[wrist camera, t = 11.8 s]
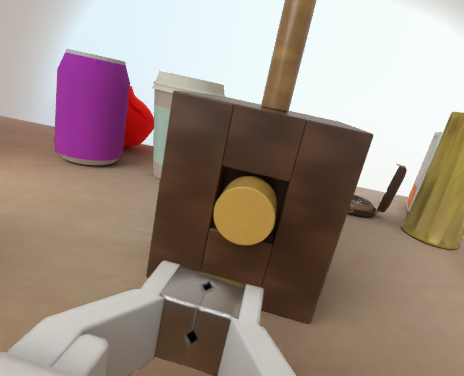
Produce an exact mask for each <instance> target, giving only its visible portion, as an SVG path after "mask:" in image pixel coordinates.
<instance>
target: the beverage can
mask: <svg viewBox="0 0 464 376" xmlns="http://www.w3.org/2000/svg"><path fill="white" fill-rule="evenodd" d="M129 88H130V82H129V77H128V73H127V70H126V65H125V62H123V61H119V60H114V59H111V58H106V57H102V56H98V55H93V54H88V53H84V52H79V51H74V50H70V49H66V52H65V54H64V56H63V59H62V61H61V63H60V65H59V67H58V70H57V93H56V116H55V117H56V118H55V140H54V143H55V151H56V152H57V153H58V154H59V155H60V156H61V157H62V158H63V159H65V160H68V161H70V162H74V163H78V164H85V165H108V164H112V163H114V162H116V161H117V160H118V159H120V158H121V156H122V152H123V144H124V135H125V126H126V116H127V107H128V97H129Z"/></svg>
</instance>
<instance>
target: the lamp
mask: <svg viewBox="0 0 464 376" xmlns="http://www.w3.org/2000/svg"><path fill="white" fill-rule="evenodd" d="M315 4H316V0H285V3H284V7H283V12H282V16H281V21H280V25H279V29H278V34H277V38H276V43H275V47H274V51H273V56H272V60H271V65H270V69H269V73H268V78H267V83H266V87H265V92H264V96H263V100H262V104H261V105H260V104H255V103H250V102H245V101H241V100H237V99H232V98H227V97H223V96H218V95H211V94H202V93H194V92H185V91H176V90H174V91H173V96H172V103H171V109H170V116H169V123H168V130H167V137H166V144H165V151H164V158H163V165H162V172H161V178H160V185H159V192H158V199H157V206H156V213H155V220H154V227H153V234H152V240H151V247H150V254H149V261H148V268H147V275H146V277H148V278H149V277H150V276H151V275H152V273H153V272H154V271H155V270H156V268H157V267H158V266H159V265H160V263H161V262H162V261H169V262H172V263H176V264H180V266H181V265H182V266H186V267H189V268H192V269H195V270H199V271H202V272H205V273H208V274H212V275H213V276H217V277H221V278H225V279H229V280H232V281H236V282H240V283H244V284H248V285H252V286H257V287H261V288H263V289H264V293H263V301H262V309H261V310H263V311H266V312H270V313H273V314H277V315H280V316H284V317H287V318H291V319H294V320H298V321H301V322H305V323H308V324H310V323H311V320H312V317H313V314H314V311H315V308H316V305H317V302H318V299H319V296H320V293H321V290H322V287H323V284H324V281H325V278H326V275H327V272H328V269H329V266H330V263H331V260H332V257H333V255H334V252H335V249H336V246H337V243H338V240H339V237H340V234H341V231H342V228H343V225H344V222H345V219H346V216H347V213H348V210H349V207H350V204H351V201H352V198H353V195H354V192H355V189H356V186H357V183H358V180H359V177H360V174H361V171H362V168H363V165H364V162H365V159H366V156H367V153H368V150H369V147H370V144H371V141H372V138H373V134H371V133H368V132H366V131H363V130H360V129H358V128H355V127H352V126H349V125H347V124H344V123H341V122H337V121H333V120H328V119H324V118H319V117H314V116H310V115H305V114H301V113H296V112H291V111H289V107H290V103H291V99H292V95H293V91H294V87H295V83H296V79H297V75H298V71H299V67H300V63H301V59H302V55H303V51H304V47H305V43H306V39H307V35H308V32H309V28H310V23H311V19H312V16H313V12H314V7H315ZM243 176H254V177H258V178H260V179H263V180H264V181H266V182H267V183H268V184H269V185H270V186H271V187H272V189H273V190H274V192H275V195H276V199H277V207H276V217H275V224H274V227H273V229H272V231H271V233H270V234H269V235H268V236H267V237H266V238H265V239H264V240H262V241H261V242H259V243H256V244H253V245H239V244H235V243H233V242H231V241H229V240H227V239H226V238H225V237H223V236H222V234H221V233H220V232H219V231H218V229H217V227H216V225H215V222H214V207H215V204H216V202H217V200H218V199H219V197H220V196H221V194H222V193H223V192H224V190H225V189H226V188H227V186H228V185H229V184H230V183H231V182H232V181H234V180H235V179H237V178H239V177H243ZM245 286H246V285H245Z"/></svg>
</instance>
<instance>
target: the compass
mask: <svg viewBox="0 0 464 376" xmlns="http://www.w3.org/2000/svg"><path fill="white" fill-rule="evenodd" d="M399 166H400V165H399ZM405 174H406V168H405V166H400V167H399V168H398V170H397V172H396V174H395V176H394V177H393V179H392V181H391V183H390V185H389V187H388V189H387V192H386V194H385V195H384V197H383V199H382V201H381V203H380V205H379V207H378V209H377V210H376V209H375V208H374V207H373V205H372V203H371V202H370V201H368V200H366V199H364V198H362V197H359V196H356V195H353V198H352V201H351V204H350V207H349V210H348V213H349V214H353V215H357V216H362V217H371V216H373V215H375V214H376V212H382V213H383V212H385V211H386V209H387V208H388V207H389V205H390V204H391V202H392V200H393V198H394V196H395V194H396V192H397V190H398V188H399V186H400V185H401V183H402V181H403V179H404V177H405Z"/></svg>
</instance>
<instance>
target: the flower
mask: <svg viewBox="0 0 464 376" xmlns="http://www.w3.org/2000/svg"><path fill="white" fill-rule="evenodd" d="M153 129H154V117H153V115H152V114H151V112H150V110H149V109H148V108H147V106H146V105H145V104H144V103H143V102H141V101H140V100H139V99H138V98H136V97H135V95H134V93H133V89H132V86H130V88H129V97H128V107H127V116H126V126H125V135H124V144H123V147H131V146H136V145H139V144H141V143H142V142H143V141H144V140H145V139H146V138H147V137H148V135H149V134H150V133H151V132H152V130H153Z"/></svg>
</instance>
